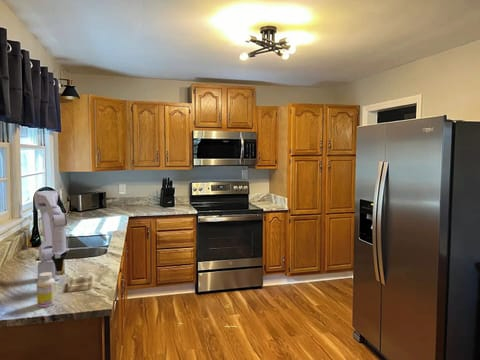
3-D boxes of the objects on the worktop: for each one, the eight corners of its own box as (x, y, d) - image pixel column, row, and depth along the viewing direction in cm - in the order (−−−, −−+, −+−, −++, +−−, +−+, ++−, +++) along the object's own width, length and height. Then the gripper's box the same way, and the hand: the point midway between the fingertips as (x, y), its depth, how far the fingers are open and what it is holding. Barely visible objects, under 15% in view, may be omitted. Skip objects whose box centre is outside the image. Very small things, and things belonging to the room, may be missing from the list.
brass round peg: (54, 275, 161) (54, 260, 161) (55, 273, 165) (55, 258, 165) (64, 274, 163) (64, 259, 162) (65, 272, 167) (64, 257, 166)
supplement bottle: (46, 300, 151) (45, 270, 150) (59, 302, 149) (58, 272, 148) (33, 306, 145) (32, 275, 144) (46, 308, 143) (45, 277, 142)
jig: (67, 291, 160) (67, 286, 160) (69, 283, 171) (69, 278, 171) (91, 289, 164) (91, 283, 164) (92, 280, 175) (92, 275, 175)
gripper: (67, 243, 158) (68, 273, 159) (69, 236, 171) (70, 264, 172) (49, 244, 155) (50, 275, 156) (53, 237, 169) (54, 265, 170)
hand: (59, 269), depth 164 cm, fingers closed on brass round peg, 4 cm apart
